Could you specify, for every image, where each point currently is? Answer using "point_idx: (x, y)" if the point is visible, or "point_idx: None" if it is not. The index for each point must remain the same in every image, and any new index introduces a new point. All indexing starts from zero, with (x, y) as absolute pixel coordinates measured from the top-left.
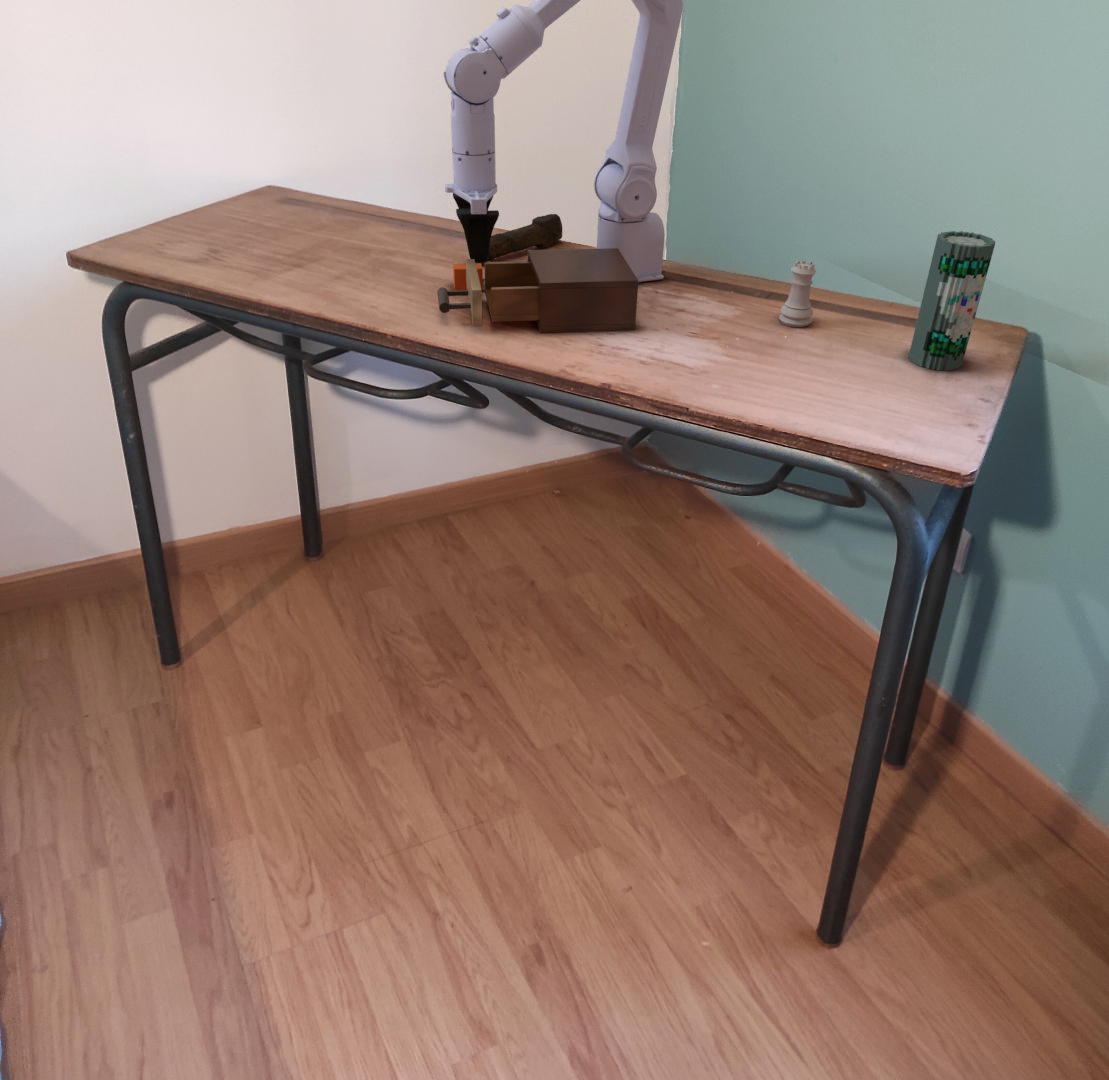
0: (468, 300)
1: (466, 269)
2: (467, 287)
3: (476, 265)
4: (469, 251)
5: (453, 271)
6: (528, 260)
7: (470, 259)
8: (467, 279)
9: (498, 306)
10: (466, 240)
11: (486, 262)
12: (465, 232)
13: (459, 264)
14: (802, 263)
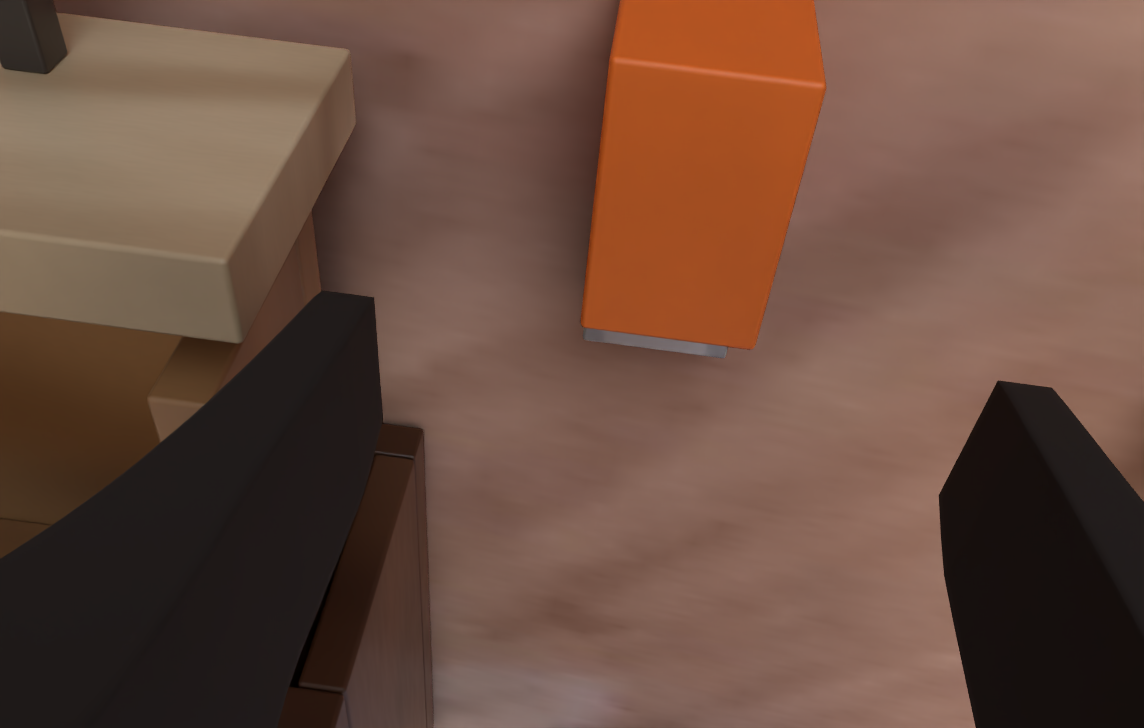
0: (62, 24)
1: (151, 189)
2: (128, 84)
3: (686, 300)
4: (250, 366)
5: (790, 38)
6: (308, 662)
7: (223, 305)
8: (31, 132)
9: None
10: (1016, 416)
11: (190, 416)
12: (10, 553)
13: (771, 150)
14: None
